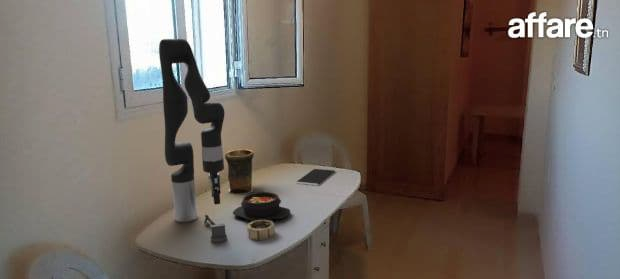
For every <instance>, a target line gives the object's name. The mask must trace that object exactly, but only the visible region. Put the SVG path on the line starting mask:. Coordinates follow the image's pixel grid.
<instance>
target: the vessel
mask: <svg viewBox="0 0 620 279" xmlns="http://www.w3.org/2000/svg"><path fill="white" fill-rule="evenodd" d="M254 154H255V153H254V151H252V150H251V149H246V148H245V149H234V150H229V151H227V152H225V154H224V158H225V160H226V163H227V165H228V166H227V167H228V175H227V177H228V179H227V180H228V182H229V183H228V184H229V189H228V193H229V194H232V195H239V196H242V195H249V194H252V192H254V188H253V187H252V184H253V183H252V181H253V180H252V179H253V173H252V172H253V158H254Z"/></svg>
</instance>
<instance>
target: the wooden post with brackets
mask: <svg viewBox="0 0 620 279" xmlns="http://www.w3.org/2000/svg"><path fill="white" fill-rule="evenodd" d="M204 218H205V219H204V222H203V224H204V225H206V226H207V227H211V225H216V223H215V222H214V221H213V220H212V218H210V217H209V215H208V214H204Z"/></svg>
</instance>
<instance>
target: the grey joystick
mask: <svg viewBox="0 0 620 279" xmlns="http://www.w3.org/2000/svg"><path fill="white" fill-rule="evenodd" d="M215 224H216V223H215ZM210 231H211V236H210V243H213V244H223V243H225V242H227V240H228V235H227V234H226V225H225V223H224V222H222V223H217V224H216V225H212V224H210Z"/></svg>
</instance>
